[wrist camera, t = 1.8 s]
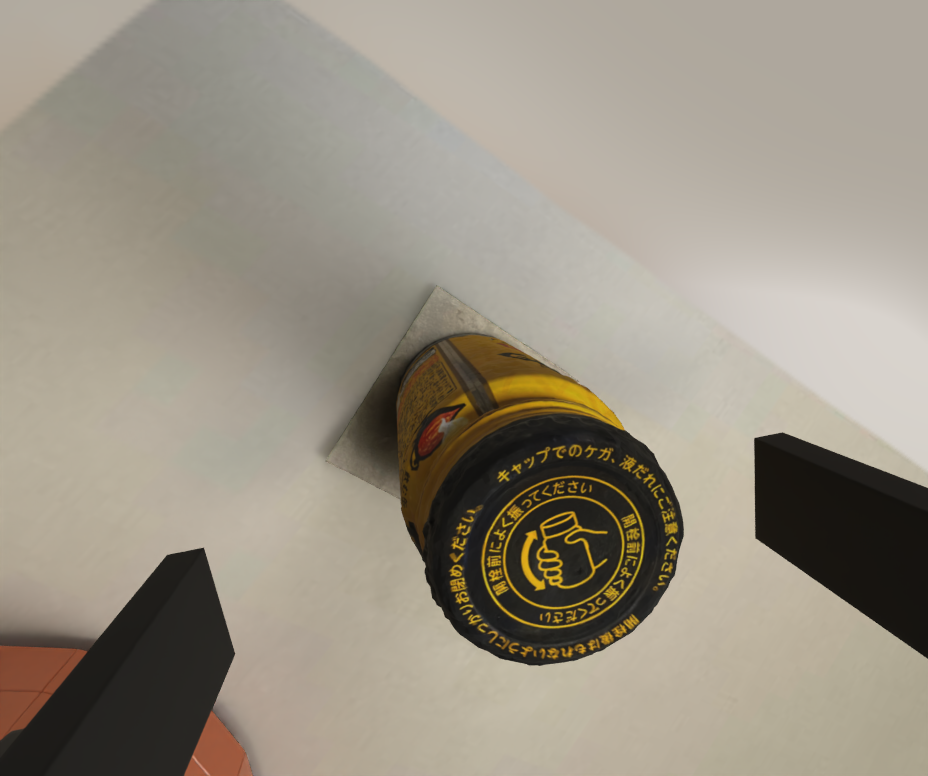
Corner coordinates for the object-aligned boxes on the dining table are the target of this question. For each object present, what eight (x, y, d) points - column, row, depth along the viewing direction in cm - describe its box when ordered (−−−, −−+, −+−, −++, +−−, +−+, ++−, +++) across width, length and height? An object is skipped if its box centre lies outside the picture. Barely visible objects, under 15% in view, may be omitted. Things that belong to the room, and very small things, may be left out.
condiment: (577, 379, 21) (795, 499, 10) (469, 535, 22) (553, 815, 11) (436, 285, 20) (498, 295, 8) (326, 458, 21) (240, 689, 9)
